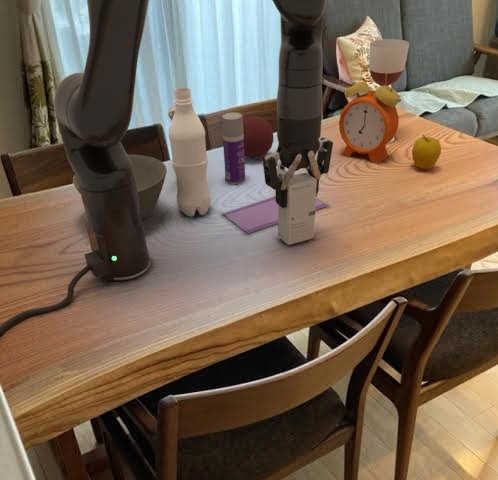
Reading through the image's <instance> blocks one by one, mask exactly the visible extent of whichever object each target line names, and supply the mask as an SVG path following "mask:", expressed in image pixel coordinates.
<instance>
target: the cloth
mask: <svg viewBox="0 0 498 480" xmlns="http://www.w3.org/2000/svg"><path fill="white" fill-rule="evenodd" d="M327 207H328V205H327V204H325V203H323V202H321V201H319V200H318V199H317V198H316V205H315V212H316V211H319V210H322V209H324V208H327ZM222 216H224V217H225V218H226V219H228V220H229V221H230V222H231V223H233V224H234V225H236V227H238V228H239V229H240V230H242V232H244V233H245V234H246V235H250V234H253V233H256V232H258V231H262V230H265V229H267V228H270V227H273V226H276V225H278V204H277V203H276V201H275V196H273V197H269V198H267V199H264V200H260V201H258V202H254V203H251V204H248V205H245V206H242V207H239V208H236V209H232V210H229V211H226V212H224V213H222Z"/></svg>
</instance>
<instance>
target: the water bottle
mask: <svg viewBox="0 0 498 480" xmlns="http://www.w3.org/2000/svg"><path fill="white" fill-rule="evenodd" d="M173 90H174V91H173V92H174V101H173V105H174V106H176V110H175V114H174V116H173V119H172V120H171V122H170V124H169V125H170V126H169V129H168V138H170V139H169V145H170V152H171V163H172V164H171V165H172V168H173V170H174V174H175V176H176V183H177V190H176V202H177V203H176V204H177V206H178V208H179V210H180V211H181V212H182V213H183V214H184V215H186V216H187V217H194V216H195V214H196V211H197V212H198V214H199V215H200V216H204V215H205V214H207V212H208V211H209V208H210V204H211V201H212V195H211V192H210V188H209V187H208V186H209V185H208V176H207V171H208V164H209V161H208V154H207V143H206V131H205V127H204V125H203V123H202V121H201V118H200V117H199V118H200V119H199V118H198V116H199V115H198V114H197V113H196V111H195V109H194V107H193V103H194V100H193V97H192V94H191V91H192V90H191V88H190V87H184V86H183V87H177V88H175V89H173ZM196 114H197V115H198V116H197V115H196ZM206 154H207V155H206Z"/></svg>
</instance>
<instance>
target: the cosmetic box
mask: <svg viewBox="0 0 498 480" xmlns="http://www.w3.org/2000/svg"><path fill="white" fill-rule="evenodd" d="M282 180H283V178H282ZM316 186H317V180H316V179H315V178H314V177H312V176H310V175H309V174H308V173H307V171H306V172H299V173H296V174H295V173H294V175H293V178H292V179H290V180H289V183H288V185H287V188H286V189H287V207H286V208H282V207H280V206H279V205H278V224H277V237H278V238H279V239H280V240H281V241H282V242H283V243H284V244H286V245H287V246H290V245H294V244H299V243H303V242H305V241H308V240H311V239H313V238H314V237H315V224H316V221H315V220H316V211H315V205H316V199H317V196H316Z"/></svg>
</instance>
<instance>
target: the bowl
mask: <svg viewBox="0 0 498 480" xmlns="http://www.w3.org/2000/svg"><path fill="white" fill-rule="evenodd" d="M127 155H128V157H129V158H130V160H131V162H132V165H133V170H134V176H135V181H136V187H137V192H138V198H139V204H140V209H141V215H142V219H144V218H145V217H146V216H147V215H149V213H150V212H151V211H152V210H153V209H154V207H155V206H156V204H157V202H158V201H159V198H160V195H161V192H162V190H163V187H164V182H165V180H166V176H167V166H166V164H165V163H164V162H163V161H161V160H160V159H157V158H155V157H152V156H148V155H142V154H127ZM72 184H73V186H74V187H75V189H76V191H77V192H78V193H79V194H80V195H81V193H80V189H79V185H78V182H77V178H76V175H75V174H74V175H73V176H72Z"/></svg>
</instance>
